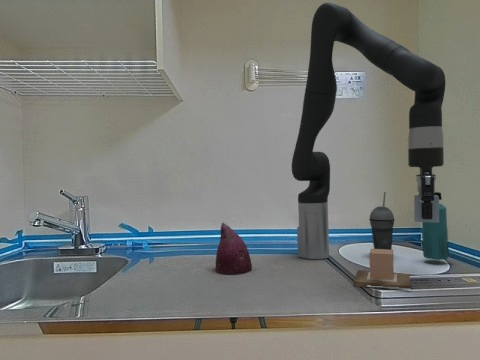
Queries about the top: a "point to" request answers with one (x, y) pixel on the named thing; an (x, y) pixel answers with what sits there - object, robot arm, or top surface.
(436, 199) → the slate block
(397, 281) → the board
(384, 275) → the terracotta block
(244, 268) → the vegetable
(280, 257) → the top surface
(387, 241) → the beverage cup
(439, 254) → the beverage bottle
